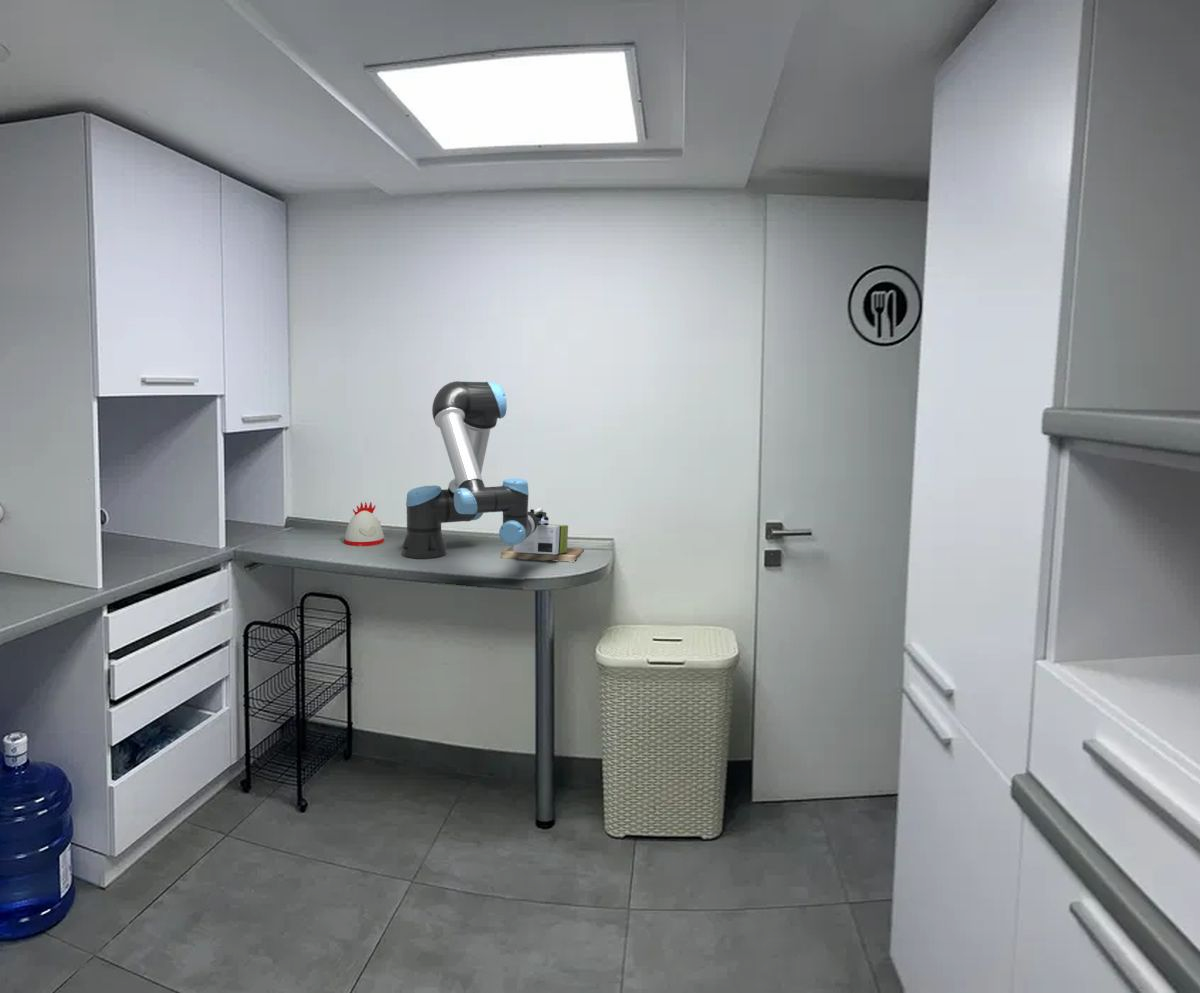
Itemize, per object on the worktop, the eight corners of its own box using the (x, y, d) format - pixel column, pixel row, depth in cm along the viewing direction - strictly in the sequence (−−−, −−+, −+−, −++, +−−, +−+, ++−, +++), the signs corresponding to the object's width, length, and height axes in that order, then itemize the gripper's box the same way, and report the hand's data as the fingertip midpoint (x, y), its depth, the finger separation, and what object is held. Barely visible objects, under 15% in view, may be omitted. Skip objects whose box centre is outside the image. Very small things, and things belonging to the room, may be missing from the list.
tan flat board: (500, 557, 261) (500, 552, 261) (514, 546, 278) (514, 541, 278) (574, 562, 257) (574, 556, 257) (583, 550, 274) (583, 545, 274)
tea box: (514, 523, 256) (528, 522, 271) (512, 552, 256) (526, 550, 271) (557, 525, 253) (568, 525, 267) (555, 555, 253) (567, 553, 267)
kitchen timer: (388, 544, 277) (387, 504, 275) (349, 547, 270) (348, 506, 268) (379, 537, 289) (378, 498, 287) (341, 540, 282) (340, 500, 280)
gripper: (503, 535, 239) (522, 521, 262) (543, 537, 237) (559, 523, 260) (503, 511, 238) (522, 500, 261) (543, 514, 236) (559, 502, 259)
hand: (540, 511), depth 260 cm, fingers closed
